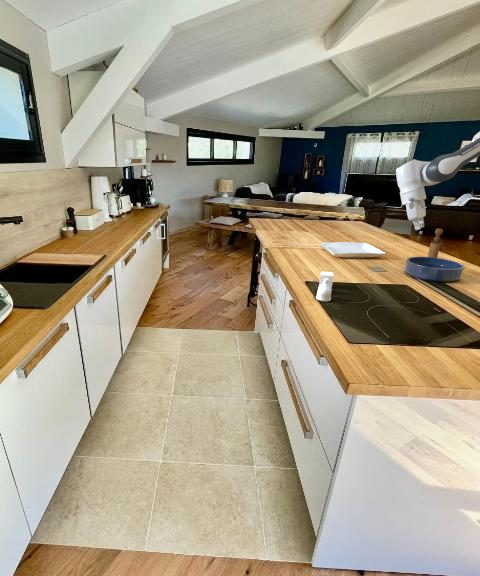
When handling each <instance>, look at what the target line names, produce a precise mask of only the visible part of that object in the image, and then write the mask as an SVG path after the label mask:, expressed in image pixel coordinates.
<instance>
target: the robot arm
mask: <svg viewBox="0 0 480 576" xmlns="http://www.w3.org/2000/svg"><path fill="white" fill-rule="evenodd" d="M479 157H480V131H478V132H477V133H476V134H475V135H473V138H472V141H471V142H469V143H468V144H466V145H464V146H463V147H461V148H459V149H458V150H456V151H454V152H452V153H446V154H441V155H439V156H437V157H435V158H434V159H432V160H431V161H423V160H417V159H415V158H412V159H409V160H407V161H405V162H404V163H402V164H400V165H399V166H398V167H397V168H396V171H395V175H396V176H395V177H396V183H397V186H398V188H399V191H400V192H399V195H400V201H401V205H402V206H405V208H406V209H405V210H406V214H407V219H408V221H409V222H410V221H412V225H413V226H414V230H415V231H418V230H421V229H422V228H424V227H425V220H424V218H425V217H426V216H427V215H426V214H427V210H426V202H425V200H426V199H427V195H426V191H425V190H426V189H425V187H427V186H428V187H430V186H435V185H437V184H440V183H441V182H447V181H448V180H450V179H452V178H454V177H455V175H456V174H457V173H458V172H459V171H460V169H462V167H464V166H465V165H467V164H468V163H470V162H472V161H473V160H475V159H477V158H479Z"/></svg>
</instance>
